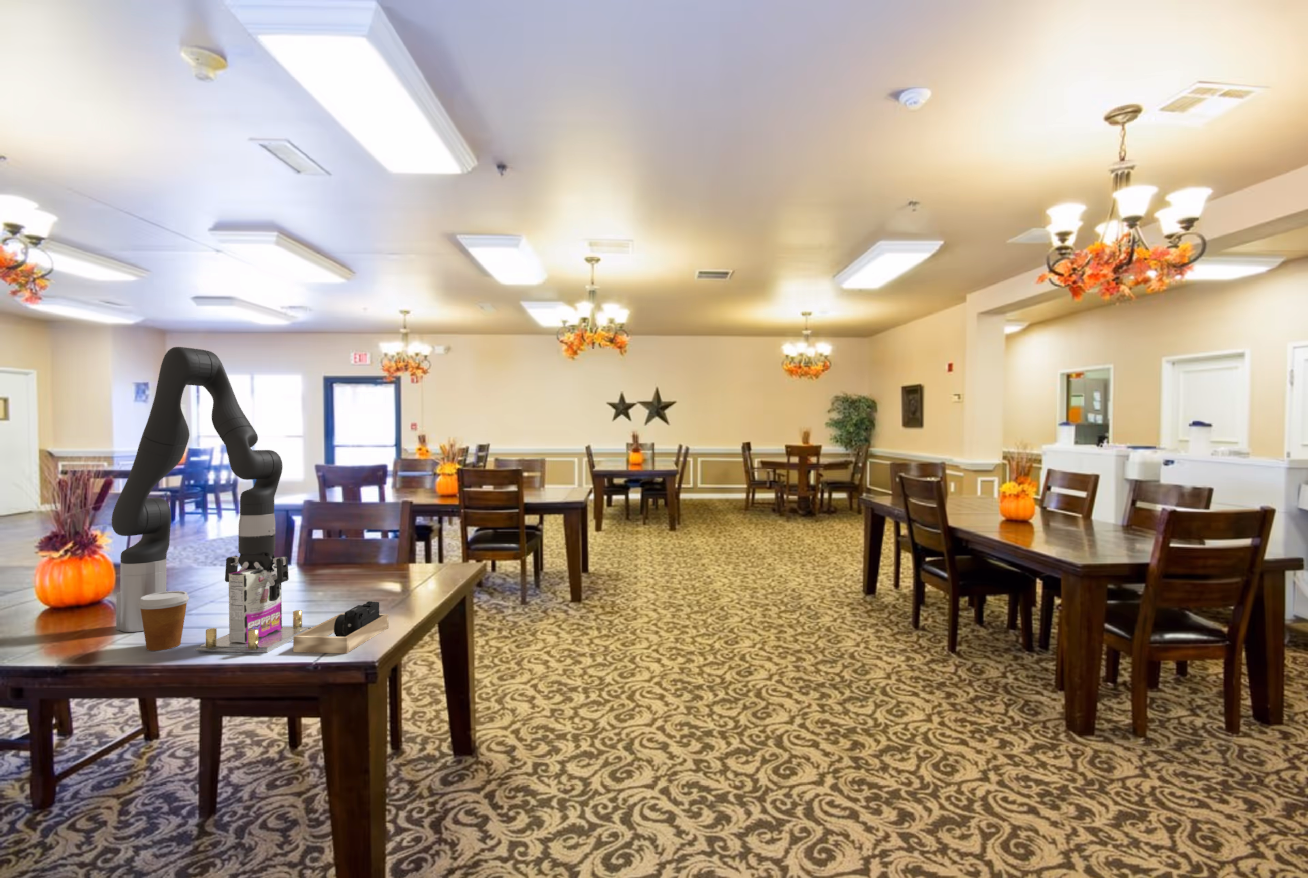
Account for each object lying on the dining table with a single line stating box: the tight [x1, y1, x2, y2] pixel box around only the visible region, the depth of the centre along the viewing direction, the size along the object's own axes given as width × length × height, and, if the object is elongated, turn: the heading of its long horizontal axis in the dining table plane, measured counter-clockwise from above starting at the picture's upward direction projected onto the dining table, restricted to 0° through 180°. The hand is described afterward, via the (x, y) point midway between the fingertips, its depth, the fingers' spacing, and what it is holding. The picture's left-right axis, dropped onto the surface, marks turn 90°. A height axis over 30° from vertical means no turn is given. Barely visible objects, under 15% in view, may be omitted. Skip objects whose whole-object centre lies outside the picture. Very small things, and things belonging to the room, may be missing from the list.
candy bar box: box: [228, 563, 283, 643], centre depth 150 cm, size 11×5×16 cm, turn 170°
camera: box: [333, 600, 380, 637], centre depth 154 cm, size 14×7×8 cm, turn 179°
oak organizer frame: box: [292, 612, 390, 654], centre depth 151 cm, size 13×20×4 cm, turn 177°
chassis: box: [194, 609, 312, 654], centre depth 150 cm, size 16×18×5 cm
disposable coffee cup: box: [138, 590, 190, 652], centre depth 146 cm, size 10×10×12 cm
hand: (256, 600), depth 150 cm, fingers open, 8 cm apart
